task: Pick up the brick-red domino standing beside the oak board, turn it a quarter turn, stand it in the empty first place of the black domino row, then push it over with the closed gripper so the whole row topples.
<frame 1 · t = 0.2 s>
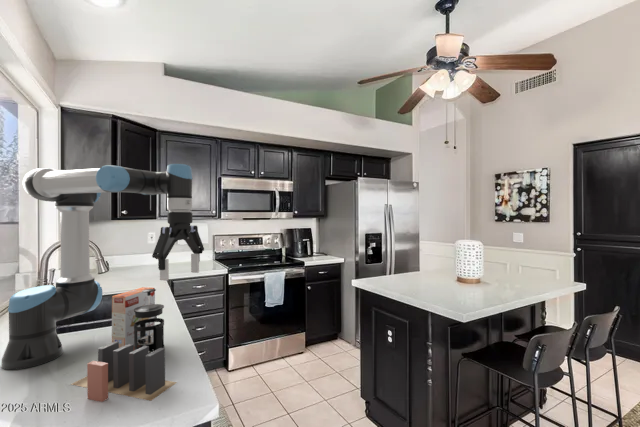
hand: (180, 276, 104), 28 cm above the counter, tool pointing down, fingers open, 13 cm apart
french press: (150, 359, 105), on the counter
domino 5: (155, 389, 85), point 1 cm above the counter, touching oak board
cracker box: (134, 350, 112), on the counter
domino 4: (139, 386, 86), point 1 cm above the counter, touching oak board
loose domino: (97, 402, 81), on the counter
domino 3: (123, 383, 88), point 1 cm above the counter, touching oak board
oak board: (123, 386, 88), on the counter
domino 2: (108, 380, 89), point 1 cm above the counter, touching oak board
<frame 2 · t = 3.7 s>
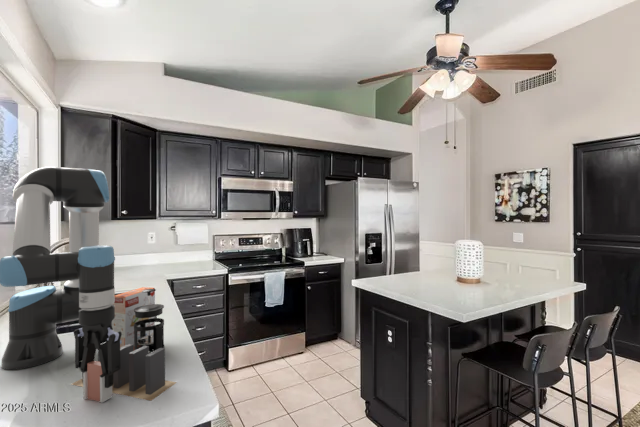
hand: (97, 397, 81), 1 cm above the counter, tool pointing down, fingers closed on loose domino, 5 cm apart
loose domino: (97, 402, 81), on the counter, touching gripper
everything else where it was.
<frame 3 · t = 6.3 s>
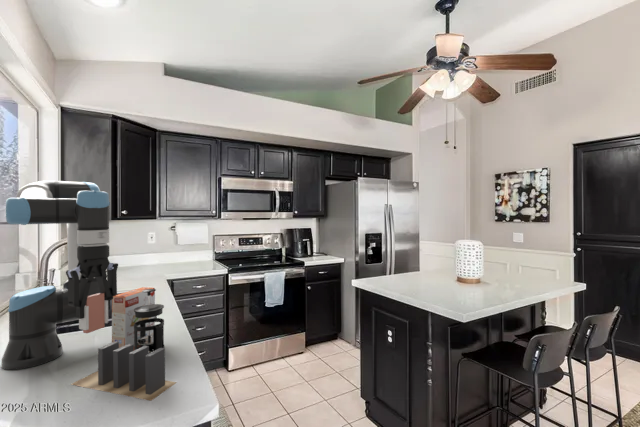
hand: (94, 325, 91), 16 cm above the counter, tool pointing down, fingers closed on loose domino, 5 cm apart
loose domino: (94, 329, 91), point 15 cm above the counter, touching gripper
everything else where it was.
when the fingers open (3 cm above the counter, at t = 8.7 s): loose domino stays where it is, resting on oak board.
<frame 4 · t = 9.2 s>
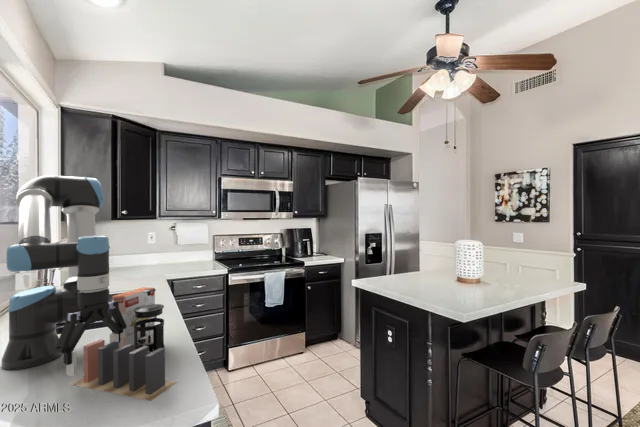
hand: (94, 364, 91), 5 cm above the counter, tool pointing down, fingers open, 12 cm apart
loose domino: (94, 377, 91), point 1 cm above the counter, touching oak board
everything else where it was.
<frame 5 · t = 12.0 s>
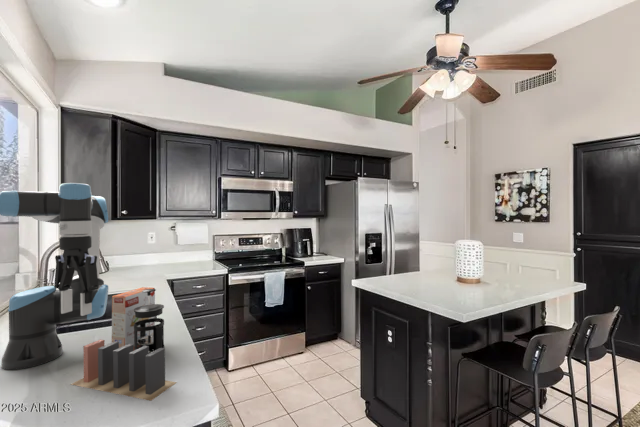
hand: (76, 313, 93), 19 cm above the counter, tool pointing down, fingers open, 7 cm apart
nothing on the counter moved.
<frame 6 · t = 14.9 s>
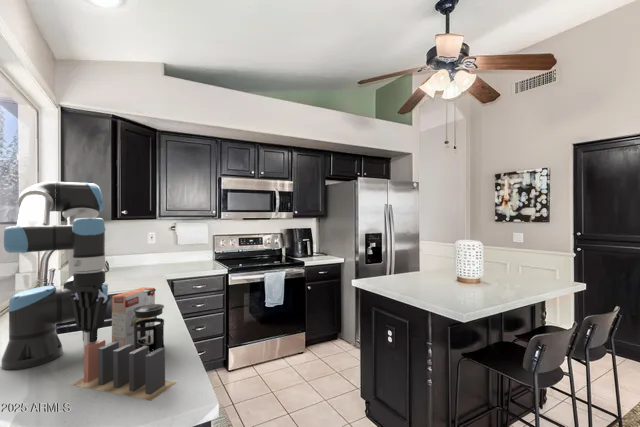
hand: (90, 352, 91), 8 cm above the counter, tool pointing down, fingers closed
loose domino: (94, 377, 91), point 1 cm above the counter, touching gripper, oak board
everything else where it was.
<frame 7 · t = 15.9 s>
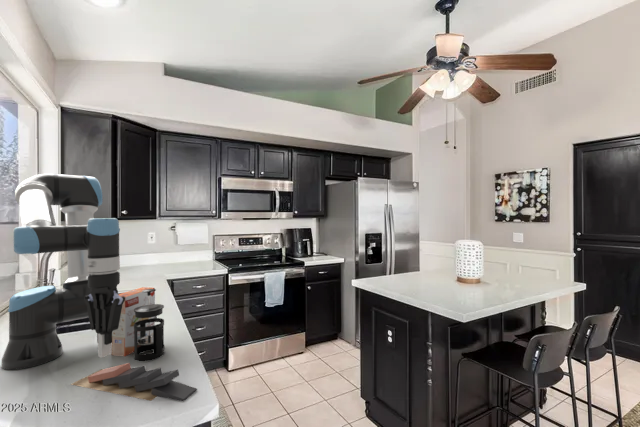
hand: (104, 355, 90), 8 cm above the counter, tool pointing down, fingers closed
domino 5: (159, 386, 84), point 2 cm above the counter, tilted 97°, touching domino 4, oak board
domino 4: (143, 384, 86), point 2 cm above the counter, tilted 71°, touching domino 3, domino 5, oak board
loose domino: (97, 375, 91), point 2 cm above the counter, tilted 73°, touching domino 2, oak board
domino 3: (126, 381, 87), point 2 cm above the counter, tilted 72°, touching domino 2, domino 4, oak board
domino 2: (111, 378, 89), point 2 cm above the counter, tilted 73°, touching domino 3, loose domino, oak board
everything else where it was.
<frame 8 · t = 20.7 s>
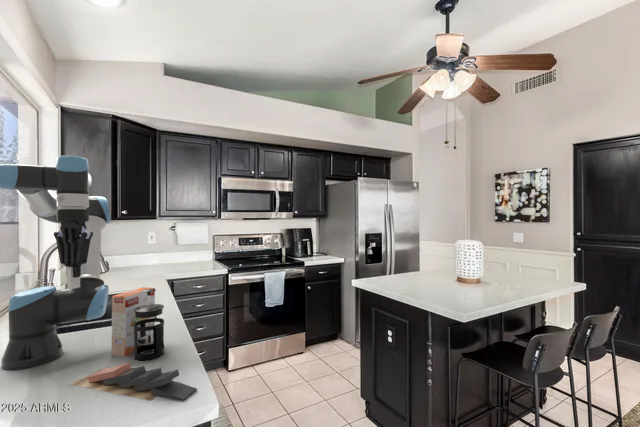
hand: (73, 288, 93), 26 cm above the counter, tool pointing down, fingers closed
nothing on the counter moved.
at the end: loose domino inside the target area (1.0 cm from its centre), point 1.8 cm above the counter; domino 3 tilted 72°; domino 5 tilted 97° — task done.
